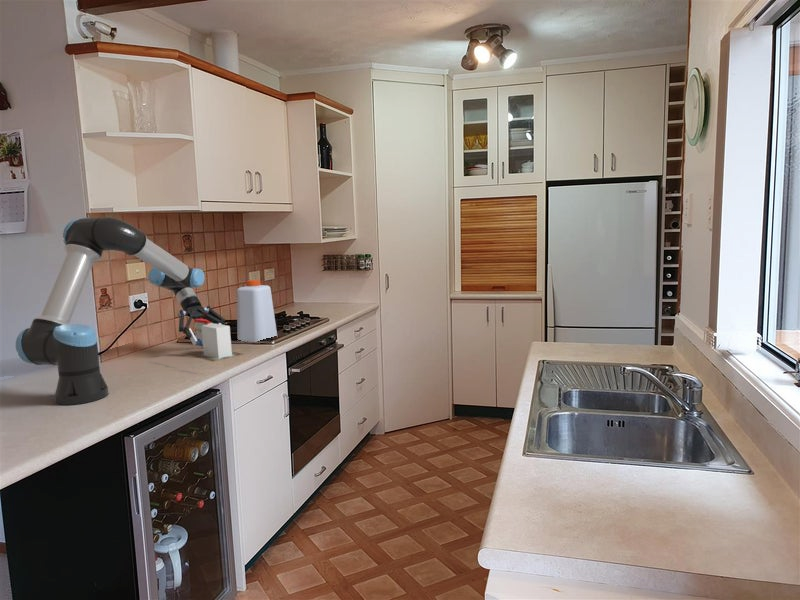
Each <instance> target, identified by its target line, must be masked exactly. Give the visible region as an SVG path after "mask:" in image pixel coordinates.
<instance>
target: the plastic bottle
mask: <svg viewBox="0 0 800 600" xmlns="http://www.w3.org/2000/svg"><path fill="white" fill-rule="evenodd" d="M271 289H272V288H271V287H270V285H267V284H266V285H263V284H261V280H260V279H248V280H246V285H245V286H241V287H238V288H237V289H236V307H237V308H236V314H237V315H236V320H237V321H236V322H237V324H236V327H237V329H236V331H237V337H236V338H237V339H238V340H241V341H245V342H247V341H248V342H257V341H260V340H263V339H266V338H271V337H274V336H277V337H278V331H277V323H276V318H275V317H276V316H275V310H274V302H273V296H272V290H271ZM238 340H237V341H238Z"/></svg>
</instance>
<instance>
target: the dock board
mask: <svg viewBox="0 0 800 600" xmlns="http://www.w3.org/2000/svg"><path fill="white" fill-rule="evenodd" d="M242 355H244V353H241V352H236V351H232V355H231V356H227V357H222V358H215V357H211V356H207V355H204V353H200V354H195V355H192V357H194V358H196V359H197V358H198V359H200V360H201V359H202V360H206V361H210V362H217V361H220V360H221V361H222V360H226V359H229V358H233V357H239V356H242Z"/></svg>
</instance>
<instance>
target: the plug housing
mask: <svg viewBox="0 0 800 600" xmlns="http://www.w3.org/2000/svg"><path fill="white" fill-rule="evenodd" d="M201 328H202V339H203V345H202V349H203V354H204V355H207V356H211V357H215V358H222V357H227V356H231V355H232V352H233V350H232V338H231V327H230V325H227V324H226V325H225V324H223V325H221V324H209V325H203V326H201Z"/></svg>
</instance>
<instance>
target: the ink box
mask: <svg viewBox="0 0 800 600" xmlns="http://www.w3.org/2000/svg"><path fill="white" fill-rule="evenodd" d="M203 316H205V314H204V315H203ZM193 321H194V322H193V323H194V333H195V334H194V335H195V337H196V339H197V343H196V345H197V346H203V339H202V328H201V326H203V325H209V324H213V323H212V322H210V321H208V320H206V319H202V318H201V319H196V320H194V319H193Z"/></svg>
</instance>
